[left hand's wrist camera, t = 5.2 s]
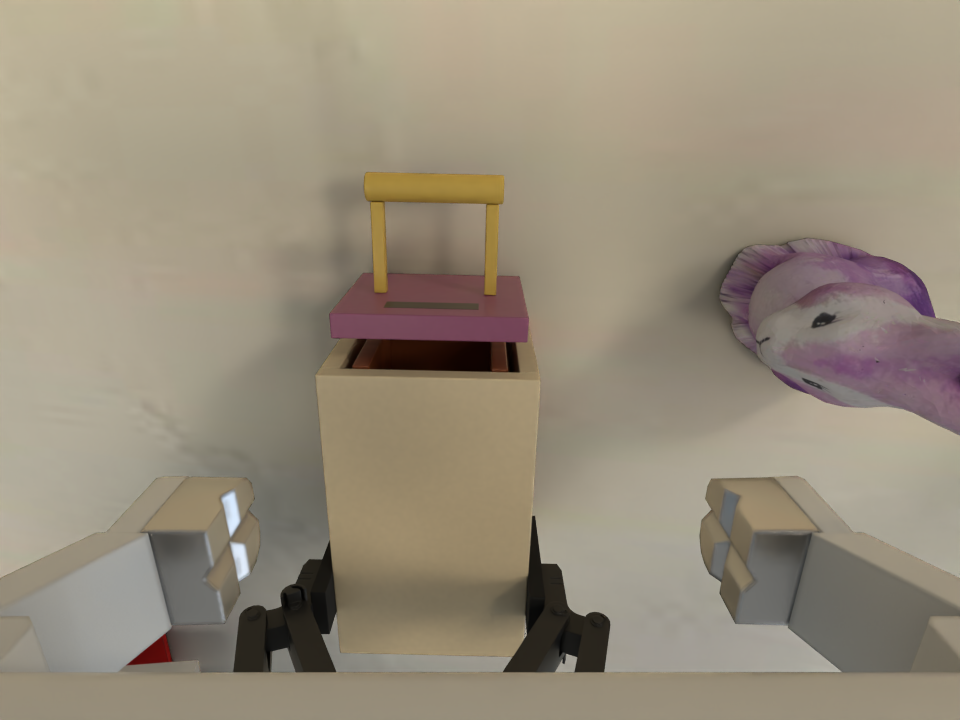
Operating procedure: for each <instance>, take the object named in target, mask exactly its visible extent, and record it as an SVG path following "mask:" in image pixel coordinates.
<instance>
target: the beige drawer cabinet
mask: <svg viewBox="0 0 960 720" xmlns="http://www.w3.org/2000/svg"><path fill="white" fill-rule="evenodd" d="M366 341H367V339H347V338H340V340H339V341H338V343H337V344H336V346H335V347H334V349H333V350H332V351H331V353H330V354H329V356H328V357H327V359H326V360H325V362H324V363H323V365H322V366H321V368H320V369H319V371H318V372H317V374H316V375H315V381H316V392H317V403H318V414H319V425H320V436H321V447H322V458H323V469H324V480H325V492H326V503H327V514H328V525H329V536H330V547H331V558H332V569H333V579H334V590H335V601H336V613H337V624H338V635H339V646H340V653H367V654H411V655H455V656H498V657H513V656H514V654H515V653H516V651H517V650H518V648H519V647H520V645H521V644H522V642H523V640H524V632H525V617H526V616H525V614H526V599H527V583H528V570H529V555H530V539H531V524H532V509H533V493H534V478H535V462H536V447H537V431H538V416H539V400H540V385H541V380H540V376H539V370H538V366H537V361H536V356H535V352H534V347H533V343H532V338H531V333H530V329H529V327H528V342H526V343H524V342H506V351H507V362H508V372H468V371H424V370H380V369H352V366H353V364H354V362H355V360H356V358H357V357H358V355H359V353H360V351H361V350H362V348H363V346H364V344H365V342H366Z"/></svg>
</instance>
